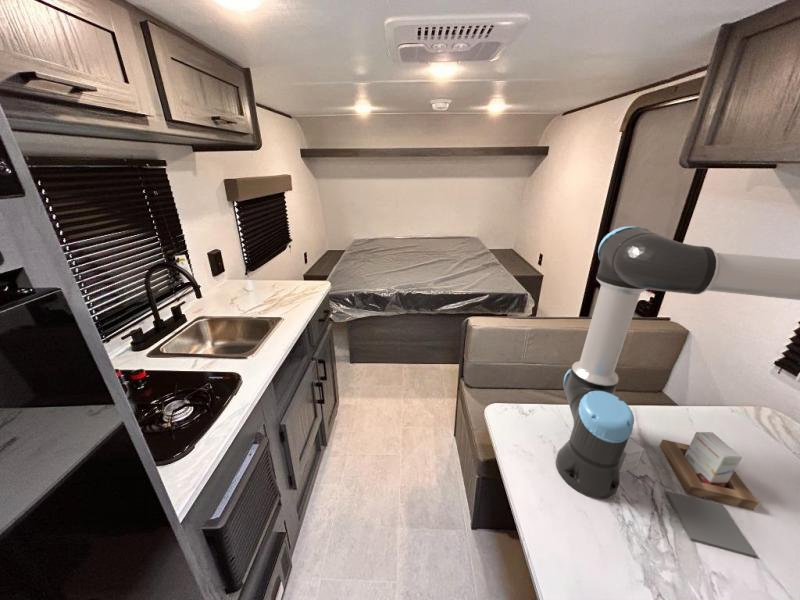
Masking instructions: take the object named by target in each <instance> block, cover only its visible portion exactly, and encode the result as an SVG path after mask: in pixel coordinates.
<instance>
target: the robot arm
mask: <svg viewBox="0 0 800 600" xmlns="http://www.w3.org/2000/svg"><path fill="white" fill-rule="evenodd" d="M597 249H598V250H597V253H598V254H597V255H598V259H599V261H600V262H599V266H598V269H597V270H598V271H597V274H596V281H597V282H598V283H599V284H600V286H599V292H598V294H597V298H596V302H595V305H594V310H593V313H592V316H591V320H590V324H589V327H588V331H587V335H586V338H585V340H584V341H585V342H584V345H583V349H582V352H581V355H580V359H579V360H578V361H574V363H572V365H571V368H570V369H568V370H567V372H566V373H565V375H564V377H563V390H564V394H565V396H566V399H567V403H568V405H569V408H570V413H571V415H572V419H573V426H572V430H571V433H570V436H569V440H568V441H567V442H565V444H564V445H562V447H561V448H560V449H559V450H558V452H557V454H556V458H555V467H556V470H557V471H558V472H557V473H558V474H559V476H560V477H561V478H562V479H563V481H564V482H565V483H566V484H568V485H569V486H570V487H571V488H572V489H574V490H575V491H576V492H579V493H581V494H583V495H585V496H587V497H591V498H593V499H599V500H600V499H601V500H602V499H609V498H611V497H614V496H615V495H616V494H617V492H618V489H619V487H620V483H621V482H620V481H621V476H620V472H619V466H618V463H619V461H620V458H621V456H622V454H623V451H624V449H625V446H626V444H627V441H628V439H629V438H631V435H632V434H633V430H634V424H635V417H634V416H635V415H634V413H633V411H632V409H631V408H630V406H629V405H628V404H627V403H626V402H625V401H624V400H620V398H619V397H618V396H616V395H615V391H616V388H617V386H618V384H619V383H618V382H619V379H620V378H619V375H618V374H617V372H615V370H616V368H617V364H618V361H619V358H620V356H621V352H622V349H623V347H624V344H625V341H626V338H627V336H628V332H629V329H630V325H631V323H632V320H633V317H634V315H635V311H636V308H637V305H638V302H639V299H640V297H641V293H643V292H645V291H647V290H651V291H656V292H657V291H658V292H659V291H660V292H669V293H678V294H688V295H700V294H703V293H705V292H706V291H707V292H716V293H726V294H727V293H729V294H736V295H737V294H738V295H746V296H756V297H757V296H758V297H764V298H774V299H785V300H796V301H800V258H799V259H798V258H788V257H787V258H784V257H775V256H774V257H773V256H762V255H750V254H749V255H747V254H735V253H725V252H724V253H721V252H716V251H715V249H714V248H712V247H710V246H704V245H703V246H701V245H693V244H687V243H683V242H679V241H677V240H674V239H671V238H668V237H665V236H663V235H660V234H657V233H655V232H652V231H651V230H649V229H647V228H646V227H640V226H639V227H638V226H632V225H631V226H630V225H628V226H622V227H618V228H616V229H614V230H612V231H610V232H609V233H607V234H606V235H605V236H603V238H602V240H601V241H600V243H599V244H598V248H597ZM795 381H797V382H798V383H799V382H800V372H799V373H798V374H797V376H796V378H795Z"/></svg>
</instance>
